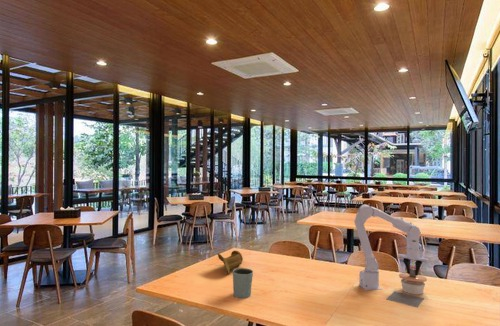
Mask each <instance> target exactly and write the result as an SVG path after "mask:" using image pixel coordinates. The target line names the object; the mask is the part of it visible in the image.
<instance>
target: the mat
mask: <svg viewBox="0 0 500 326" xmlns="http://www.w3.org/2000/svg"><path fill="white" fill-rule="evenodd" d="M386 300H387V301H390V302H395V303H398V304H402V305H405V306H410V307H414V308H418V307H419V306H420V305H421V303H422V302H423V301H424V300H425V297H420V296H418V295H417V296H416V295H414V294H409V293H408V294H407V293H403V292H400V291H395V290H394V291H393V292H392V293H391V294H390V295H388V296H387V298H386Z"/></svg>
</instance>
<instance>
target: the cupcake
mask: <svg viewBox="0 0 500 326" xmlns="http://www.w3.org/2000/svg"><path fill="white" fill-rule="evenodd" d="M410 268H414V269H416V266H415V261H414V260H412V264H410ZM404 271H405V273H407V269H406V266H405V268H404ZM421 273H422V271H421V268H420V269H419V272H418V275H420V274H421Z"/></svg>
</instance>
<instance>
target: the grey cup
mask: <svg viewBox="0 0 500 326" xmlns="http://www.w3.org/2000/svg"><path fill="white" fill-rule="evenodd" d="M253 275H254V270H253V269H251V268H248V267H247V268H245V267H238V268H233V270H232V284H233V285H232V287H233V293H232V294H233V297H234V298H237V299H248V298H250V297H251V295H252V285H253V284H252V283H253Z"/></svg>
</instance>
